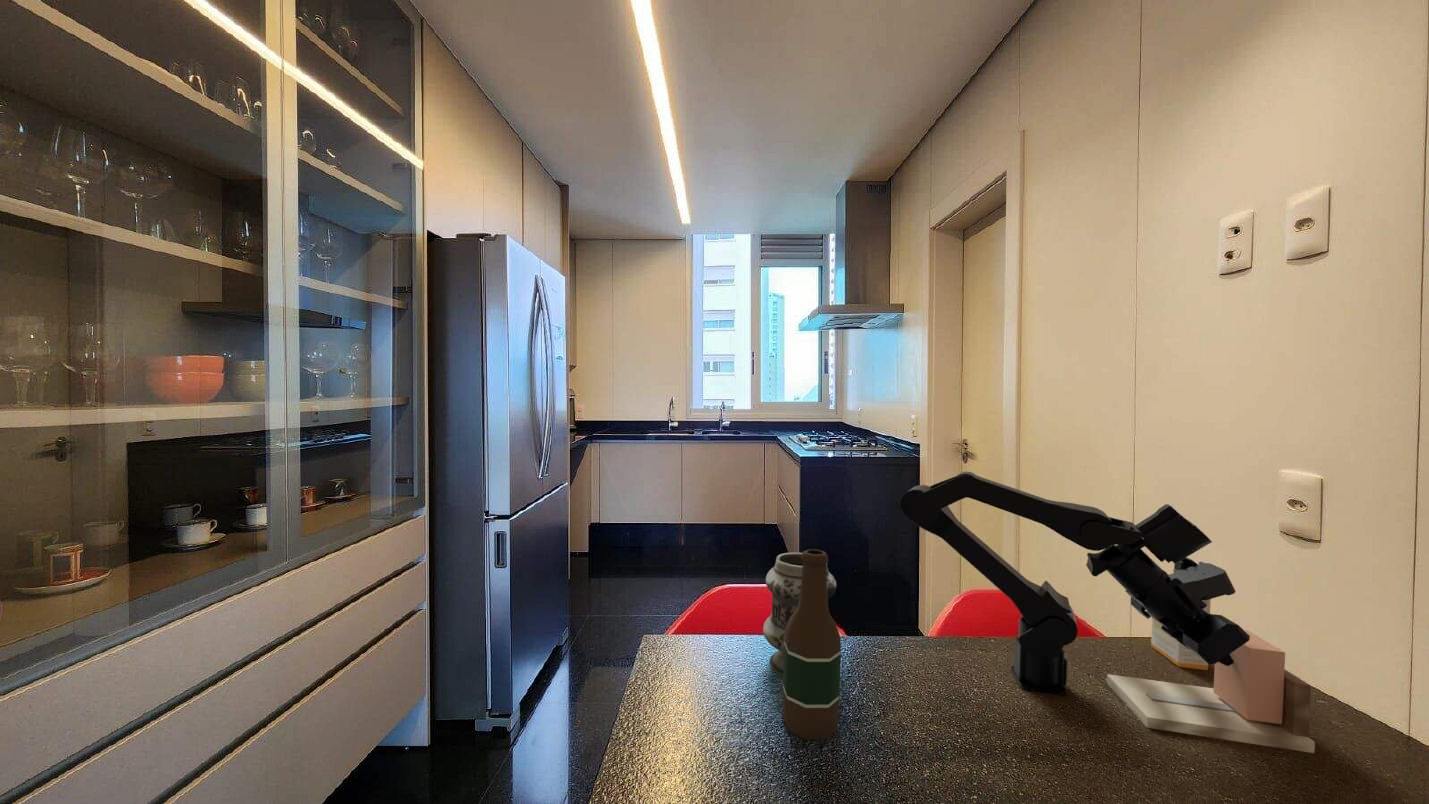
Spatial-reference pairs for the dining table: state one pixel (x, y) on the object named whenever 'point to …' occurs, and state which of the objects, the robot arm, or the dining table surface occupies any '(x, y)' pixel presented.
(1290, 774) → the dining table surface
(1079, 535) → the robot arm
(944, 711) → the dining table surface
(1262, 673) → the tan rectangular block
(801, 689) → the beer bottle
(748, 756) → the dining table surface
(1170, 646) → the supplement box
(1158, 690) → the track
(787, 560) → the apothecary jar
